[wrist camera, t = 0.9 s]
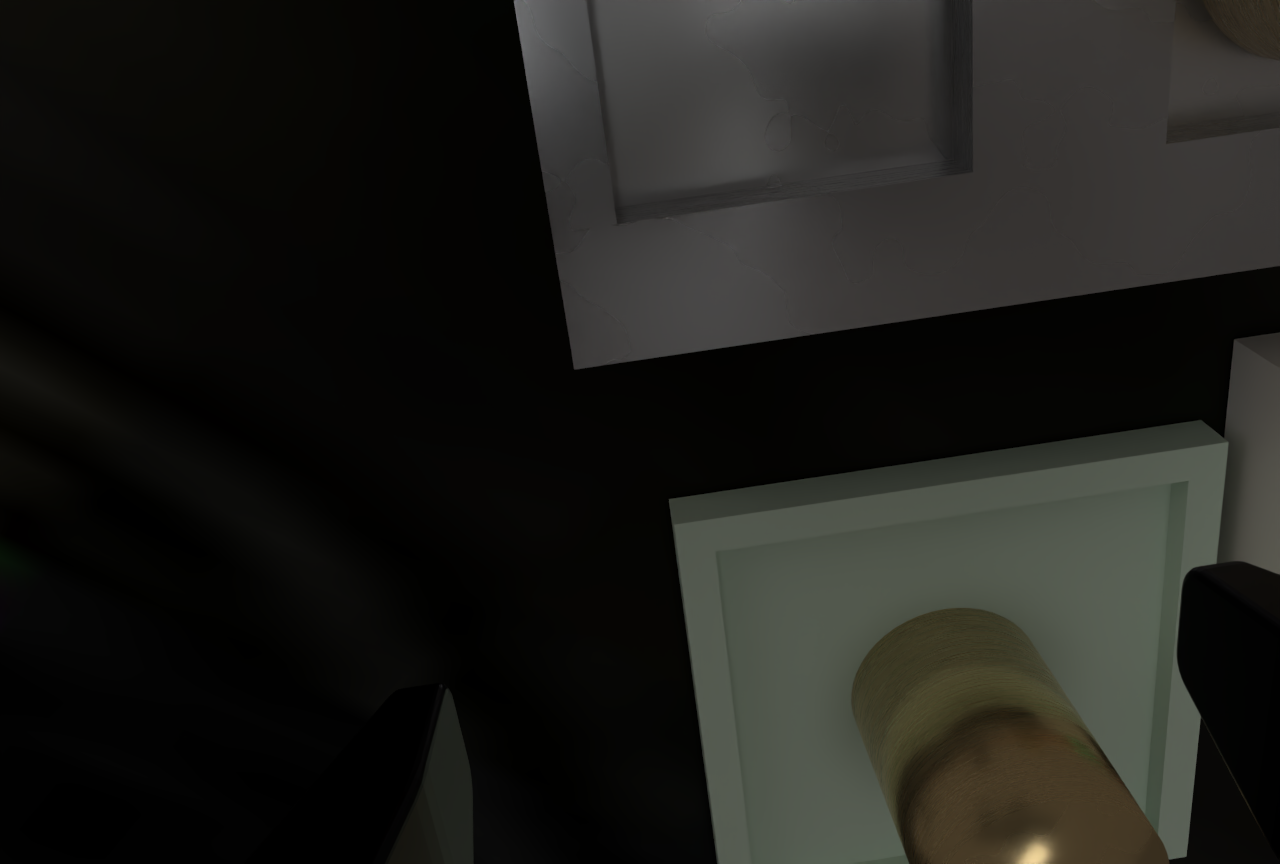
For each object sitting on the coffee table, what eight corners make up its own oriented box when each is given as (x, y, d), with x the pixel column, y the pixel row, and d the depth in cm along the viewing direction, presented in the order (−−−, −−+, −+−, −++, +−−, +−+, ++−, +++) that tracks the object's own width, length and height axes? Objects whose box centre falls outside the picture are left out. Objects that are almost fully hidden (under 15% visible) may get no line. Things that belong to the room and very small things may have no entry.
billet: (1038, 748, 25) (1160, 961, 20) (855, 776, 25) (933, 996, 20) (1042, 594, 23) (1178, 784, 18) (846, 623, 23) (929, 822, 18)
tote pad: (1164, 824, 27) (1186, 856, 26) (721, 891, 26) (727, 926, 26) (1200, 420, 22) (1228, 442, 21) (668, 499, 22) (673, 524, 21)
